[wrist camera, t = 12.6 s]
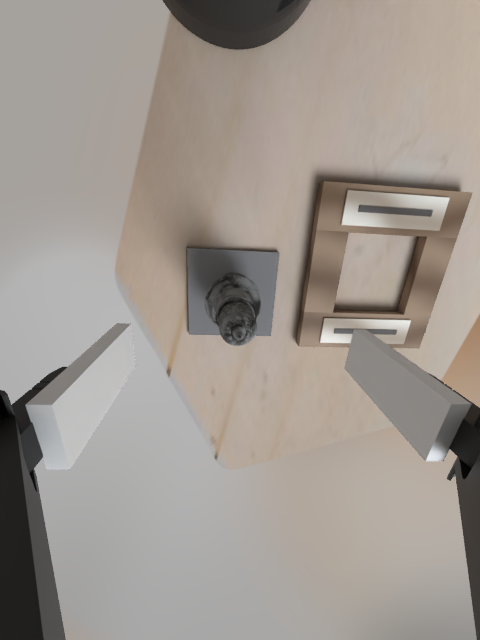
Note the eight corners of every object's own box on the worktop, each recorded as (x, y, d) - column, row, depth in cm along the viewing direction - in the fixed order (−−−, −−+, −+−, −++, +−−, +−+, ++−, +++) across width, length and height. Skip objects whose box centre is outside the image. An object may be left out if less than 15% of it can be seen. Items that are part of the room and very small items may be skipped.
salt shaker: (198, 279, 26) (182, 313, 15) (248, 262, 26) (269, 283, 15) (216, 326, 29) (214, 385, 17) (263, 310, 28) (291, 360, 17)
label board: (319, 183, 24) (325, 180, 23) (461, 194, 26) (475, 192, 24) (296, 342, 31) (299, 347, 29) (412, 344, 32) (421, 349, 31)
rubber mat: (187, 247, 26) (187, 248, 25) (278, 252, 27) (279, 252, 26) (189, 333, 29) (188, 334, 29) (270, 334, 30) (270, 335, 30)
